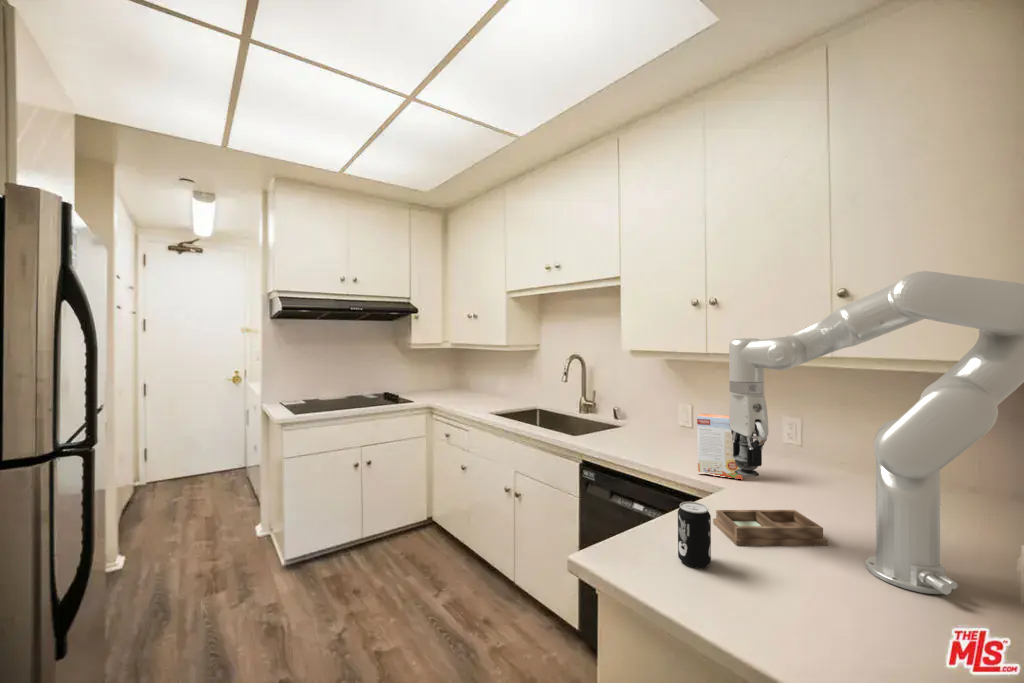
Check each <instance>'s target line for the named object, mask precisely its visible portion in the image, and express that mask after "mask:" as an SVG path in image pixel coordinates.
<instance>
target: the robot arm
mask: <svg viewBox="0 0 1024 683" xmlns="http://www.w3.org/2000/svg"><path fill="white" fill-rule="evenodd" d="M923 320H929V321H933V322H934V321H935V322H940V323H945V324H948V325H949V324H950V325H955V326H961V327H967V328H972V329H978V338H977V341H976V342H975V344H974V345H973V347H972V348H970V350H968V352H967V353H965V354H964V355H963V356H962V357H961V358H960V360H958V361H957V362H956V363H955V364H954V365H953V366H951V368H950V369H948V370H947V371H946V372H945V373H944V374H943V375H941V376H940V377H939V378H938V379H937V380H935V381H934V382H932V383H931V384H929V385H928V386H927V387H926V388H925V389H923V391H922V392H921V394H920V397H919V400H918V401H916V402H915V403H914V404H913V405H912V406H911V407H910V408H909V409H908V410H906V411H905V412H904V413H903V414H902V415H900V417H898V418H895V419H891V420H888V421H886V422H885V423H883V424H882V425H880V427H879V428H878V429H877V431H876V433H875V436H874V442H873V443H874V444H873V450H874V455H875V555H871V556H869V557H868V558H866V561H865V564H866V568H867V570H868V571H869V572H870V573H871V574H873V575H874V576H876V577H877V578H879V579H880V580H882V581H884V582H886V583H888V584H891V585H894V586H896V587H899V588H901V589H905V590H908V591H912V592H916V593H920V594H928V595H947V596H948V595H950V594H951V593H952V590H956V589H957V588H958V582H956V581H954V580H953V579H950V578H949V577H948V576H947V575H946V566H944V565H942V564H941V470H942V469H944V468H945V467H946V466H947V465H949V464H950V463H952V462H953V461H954V460H955V459H957V458H958V457H959V456H961V455H962V454H963V453H964V452H965V451H967V450H968V449H969V448H970V447H971V446H973V445H974V444H976V443H977V442H978V441H979V440H981V439H982V438H983V437H984V436H985V435H986V434H987V433H988V432H989V431H990V430H991V429H992V428H993V426H995V424H996V422H997V420H998V415H999V409H998V405H999V404H1001V403H1002V402H1003V401H1004V400H1005V399H1007V397H1009V396H1010V395H1011V394H1013V393H1014V392H1015V391H1016V390H1017V389H1018V388H1019V387H1020V386H1021V385H1022V384H1024V283H1023V282H1015V281H1007V280H1006V281H1005V280H999V279H990V278H983V277H974V276H965V275H959V274H951V273H945V272H937V271H927V270H926V271H925V270H924V271H915V272H911V273H909V274H907V275H904V276H903V277H901V278H900V279H899V280H898V281H896V283H893V284H890V285H889V286H886V287H883V288H882V289H880V290H877V291H875V292H873V293H871V294H869V295H866V296H864V297H861V298H859V299H856V300H855V301H852V302H850V303H847V304H845V305H842V306H841V307H839V308H836V309H835V310H834V311H832V312H831V313H830V314H828V315H827V316H825V317H824V318H823V319H821V320H819V321H818V322H816V323H813V324H811V325H809V326H808V327H805V328H803V329H800V330H798V331H796V332H793V333H790V334H789V335H787V336H781V337H780V336H779V337H772V338H771V337H770V338H764V339H762V338H752V337H751V338H750V337H749V338H746V337H745V338H734V339H732V340H730V341H729V348H728V351H729V352H728V353H729V354H728V357H729V360H728V362H729V366H728V367H729V369H728V372H729V374H728V376H729V379H728V380H729V381H728V382H729V391H728V392H729V394H730V399H729V412H728V414H729V415H728V416H729V426H730V429H731V433H732V435H733V436H732V441H733V457H734V456H738V455H739V452H740V444H739V443H738V442H740V434H741V435H743V436H746V437H747V441H748V447H749V449H747V465H748V466H758V467H762V465H763V461H762V456H763V455H762V454H763V453H762V452H763V450H764V445H765V443H766V442H767V440H768V437H769V419H768V418H769V416H768V407H767V401H766V396H765V369H767V370H768V369H769V370H775V371H786V370H789V369H792V368H795V367H798V366H800V365H803V364H806V363H807V362H810V361H813V360H816V359H818V358H820V357H823V356H825V355H828V354H831V353H834V352H836V351H838V350H842V349H846V348H850V347H855V346H858V345H861V344H863V343H865V342H868V341H871V340H874V339H876V338H879V337H881V336H883V335H887V334H890V333H891V332H894V331H896V330H899V329H902V328H905V327H908V326H909V325H913V324H915V323H918V322H920V321H923ZM752 434H753V436H752ZM752 439H753V443H752Z"/></svg>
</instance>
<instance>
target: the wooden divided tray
mask: <svg viewBox="0 0 1024 683" xmlns="http://www.w3.org/2000/svg"><path fill="white" fill-rule="evenodd" d="M715 513H716V515H715V516H716V517H715V518H712V523H713V525H714V526H716V527H717V528H718V530H720V532H722V534H724V536H726V537H727V538H728V539H729V540H730V541H731V542H732V543H733V544H734V545H735V546H736V545H762V546H829V543H828V541H829V540H828V539H827V538H826V537H824V527H823V526H821V525H819V524H818V523H816V522H815V521H813V520H811V519H810V518H808V517H806V515H803V514H802V513H801V512H799V511H797V510H795V509H716V510H715Z"/></svg>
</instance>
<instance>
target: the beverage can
mask: <svg viewBox="0 0 1024 683" xmlns="http://www.w3.org/2000/svg"><path fill="white" fill-rule="evenodd" d="M711 524H712V516H711V514H710V512H709V507H708V506H707V505H706V504H703V503H700V502H696V501H682V502H681V503H680V504H679V508H678V510H677V556H678V559H679V560H680V561H681V563H682V564H684V565H685V566H688V567H691V568H694V569H705V568H707V567H708V566H709V565H710V564H711V563H712V534H711V533H712V532H711V531H712V530H711V529H712V526H711Z"/></svg>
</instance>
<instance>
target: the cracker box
mask: <svg viewBox="0 0 1024 683" xmlns="http://www.w3.org/2000/svg"><path fill="white" fill-rule="evenodd" d="M696 421H697V422H696V426H697V427H696V430H697V434H696V435H697V436H696V437H697V439H696V440H697V442H696V443H697V445H696V446H697V472H698V471H699V472H705V473H710V474H715V475H720V476H725V477H730V478H736V479H741V480H740V481H743V479H744V476H742V475H739V474H736V473H735V470H737V469H741V468H739V467H738V466H737V465H736V463H735V459H734V458H733V441H732V436H733V435H732V433H731V429H730V426H729V415H724V414H712V413H711V414H710V413H699V414H698V415H697V417H696Z"/></svg>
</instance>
